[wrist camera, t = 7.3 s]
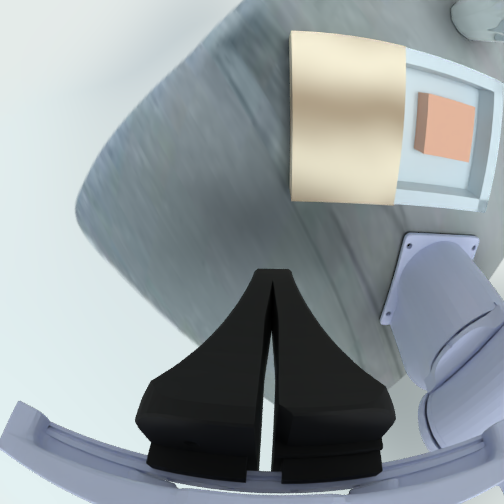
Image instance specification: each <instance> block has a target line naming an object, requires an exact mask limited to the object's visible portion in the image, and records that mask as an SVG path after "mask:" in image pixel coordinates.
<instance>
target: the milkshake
mask: <svg viewBox="0 0 504 504" xmlns="http://www.w3.org/2000/svg"><path fill="white" fill-rule="evenodd" d="M451 17H452V21H453V23H454V24H455V26H456V28H457V30H458V31H459V33H461V34H462V35H463V36H465V37H466V38H467V39H468V40H474V41H488V42H502V43H504V0H460V1H458V2H456V3H455V4H454V6H453V7H452V8H451Z"/></svg>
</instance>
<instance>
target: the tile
mask: <svg viewBox="0 0 504 504" xmlns="http://www.w3.org/2000/svg"><path fill="white" fill-rule="evenodd" d="M474 118H475V107H473V106H470V105H467V104H464V103H461V102H458V101H455V100H451V99H448V98H444V97H441V96H437V95H433V94H430V93H422V92H418V106H417V121H416V132H415V142H414V149H415V150H417V151H419V152H421V153H423V154H427V155H433V156H439V157H444V158H449V159H454V160H459V161H464V162H468V163H469V159H470V152H471V145H472V137H473V129H474Z"/></svg>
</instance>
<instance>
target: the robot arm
mask: <svg viewBox="0 0 504 504" xmlns="http://www.w3.org/2000/svg"><path fill="white" fill-rule="evenodd" d="M409 243H411V244H410V245H409V246H407V245H408V244H409ZM478 244H479V239H478V237H477V236H468V235H450V234H431V233H407V234H406V235H405V237H404V239H403V244H402V248H401V252H400V255H399V259H398V263H397V267H396V270H395V274H394V277H393V280H392V284H391V287H390V290H389V294H388V297H387V300H386V303H385V306H384V309H383V312H382V315H381V318H380V322H381V324H382V325H390V326H391V329H392V332H393V334H394V337H395V340H396V343H397V346H398V349H399V352H400V355H401V358H402V361H403V364H404V368H405V370H406V373H407V375H408V376H409V378H410V379H411V380H412V381H413V382H414V383H415V384H416V385H417V386H419V387H420V388H422V389H424V390H427V391H428V393H426V394H425V395H424V396H423V398H422V400H421V401H420V404H419V409H418V424H419V431H420V434H421V437H422V440H423V442H424V444H425V445H426V447H427V449H428V450H429V451H430V452H428V453H425V454H421V455H417V456H413V457H409V458H404V459H400V460H395V461H390V462H385V463H382V462H381V455H380V450H382V449H383V443H382V436H383V435H384V434H385V433H386V432H387V431H388V430H389V428H390V427H391V426H392V425H393V423H394V421H395V420H396V416H395V411H394V406H393V403H392V400H391V398H390V395H389V393H388V391H387V388H386V386H384V385H383V384H381V383H380V382H379V381H377V380H376V379H374V378H373V377H372V376H370V375H369V374H367V373H366V372H365V371H364V370H362V369H361V368H360V367H359V366H358V365H357V364H355V363H354V362H353V361H352V360H351V359H350V358H349V357H348V356H347V355H346V354H345V353H344V352H343V351H342V350H341V349H340V348H339V347H338V346H337V345H336V344H335V343H334V341H333V340H332V339H331V338H330V337H329V336H328V334H327V333H326V332H325V331H324V329H323V328H322V327H321V326H320V324H319V323H318V321H317V320H316V318H315V317H314V315H313V314H312V312H311V311H310V309H309V308H308V306H307V304H306V303H305V301H304V299H303V297H302V296H301V294H300V292H299V290H298V288H297V285H296V283H295V281H294V278H293V276H292V272H291V271H290V270H289V269H257V270H256V271H255V272H254V275H253V277H252V279H251V281H250V283H249V285H248V287H247V289H246V291H245V292H244V294H243V296H242V297H241V299H240V300H239V302H238V303H237V305H236V306H235V308H234V309H233V310H232V312H231V313H230V314H229V316H228V317H227V318H226V319H225V321H224V322H223V323H222V324H221V325H220V327H219V328H218V329H217V330H216V331H215V332H214V333H213V334H212V335H211V336H210V337H209V338H208V339H207V340H206V341H205V342H204V343H203V344H202V345H201V346H200V347H198V348H197V349H196V350H195V351H194V352H193V353H191V354H190V355H189V356H187V357H186V358H185V359H184V360H182V361H181V362H180V363H179V364H177V365H175V366H174V367H173V368H171V369H170V370H168V371H166V372H165V373H163V374H161V375H160V376H158V377H157V378H155V379H153V380H152V381H151V382H150V384H149V385H148V387H147V389H146V391H145V393H144V395H143V397H142V400H141V403H140V406H139V409H138V412H137V415H136V418H135V422H136V424H137V425H138V428H139V429H140V430H141V431H142V433H144V435H145V436H146V437H147V438H148V439H149V441H151V445H150V449H149V453H148V455H144V454H140V453H136V452H133V451H129V450H126V449H122V448H119V447H116V446H112V445H109V444H106V443H103V442H100V441H97V440H94V439H92V438H89V437H86V436H83V435H81V434H79V433H76V432H74V431H71V430H69V429H66V428H64V427H62V426H59V425H57V424H55V423H53V422H50V421H49V419H48V418H47V417H46V416H45V415H44V414H42V413H41V412H40V411H38V410H37V409H35V408H33V407H31V406H29V405H27V404H25V403H23V402H21V401H18V402H17V405H16V406H15V408H14V410H13V412H12V414H11V416H10V419H9V421H8V423H7V425H6V427H5V429H4V432H3V434H2V436H1V438H0V450H2V451H3V452H5V453H6V454H7V455H9V456H10V457H11V458H13V459H15V460H16V461H17V462H19V463H20V464H22V465H23V466H25V467H26V468H28V469H29V470H31V471H33V472H34V473H36V474H38V475H39V476H40V477H42V478H44V479H46V480H47V481H49V482H51V483H53V484H54V485H56V486H58V487H60V488H62V489H64V490H65V491H67V492H70V493H71V494H74V495H75V496H77V497H80V498H82V499H84V500H86V501H88V502H90V503H93V504H461V503H463V502H465V501H467V500H469V499H472V498H473V497H476V496H477V495H479V494H481V493H483V492H485V491H487V490H489V489H491V488H493V487H494V486H500V488H501V490H502V492H503V494H504V301H503V299H502V298H501V296H500V295H499V294H498V293H497V291H496V290H495V288H494V287H493V286H492V284H491V283H490V282H489V280H488V279H487V278H486V276H485V275H484V274H483V273H482V271H481V270H480V269H479V268H478V266H477V265H476V264H475V263H474V261H473V259H474V256H475V253H476V250H477V247H478ZM472 247H473V248H472ZM387 312H388V313H387ZM271 331H272V340H273V353H274V367H275V405H274V428H273V429H274V430H273V447H272V464H271V472H270V471H269V472H268V471H267V472H266V471H259V461H260V445H261V444H260V443H261V428H262V409H263V393H264V380H265V372H266V365H267V359H268V352H269V345H270V338H271ZM165 480H166V481H165ZM168 481H171V482H175V483H180V484H186V485H192V486H197V487H204V488H211V489H219V490H228V491H240V492H254V493H309V492H325V491H336V490H345V489H351V490H350V491H349V494H348V495H339V494H315V495H251V494H250V495H249V494H237V493H227V492H218V491H210V490H200V489H192V488H191V489H190V488H189V489H188V488H185V489H184V488H182V489H178V488H177V487H176V485H175V484H174V483H171V482H168ZM352 488H353V489H352Z"/></svg>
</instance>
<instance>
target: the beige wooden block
mask: <svg viewBox="0 0 504 504" xmlns="http://www.w3.org/2000/svg"><path fill="white" fill-rule="evenodd" d="M289 60H290V186H289V188H290V195H291V201H307V202H337V203H359V204H377V205H393V206H394V200H395V194H396V187H397V181H398V174H399V166H400V158H401V149H402V139H403V128H404V114H405V94H406V46H402V45H398V44H393V43H389V42H384V41H379V40H374V39H368V38H362V37H356V36H349V35H341V34H332V33H322V32H308V31H291V33H290V36H289Z"/></svg>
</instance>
